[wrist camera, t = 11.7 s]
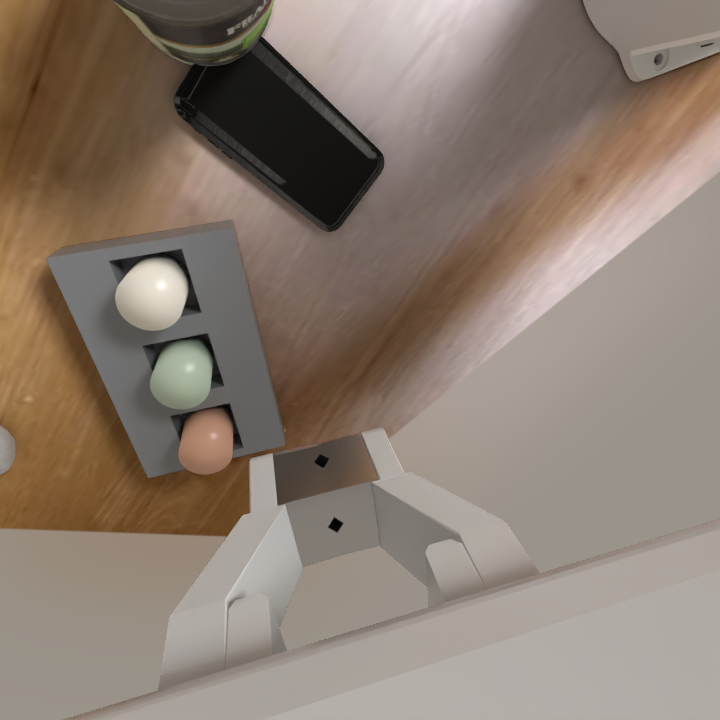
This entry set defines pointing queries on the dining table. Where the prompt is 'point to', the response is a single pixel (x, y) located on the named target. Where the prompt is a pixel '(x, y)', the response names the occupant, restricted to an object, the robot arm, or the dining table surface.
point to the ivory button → (153, 292)
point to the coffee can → (201, 27)
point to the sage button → (183, 373)
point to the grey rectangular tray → (199, 318)
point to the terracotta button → (207, 440)
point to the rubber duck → (6, 450)
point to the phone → (282, 132)
